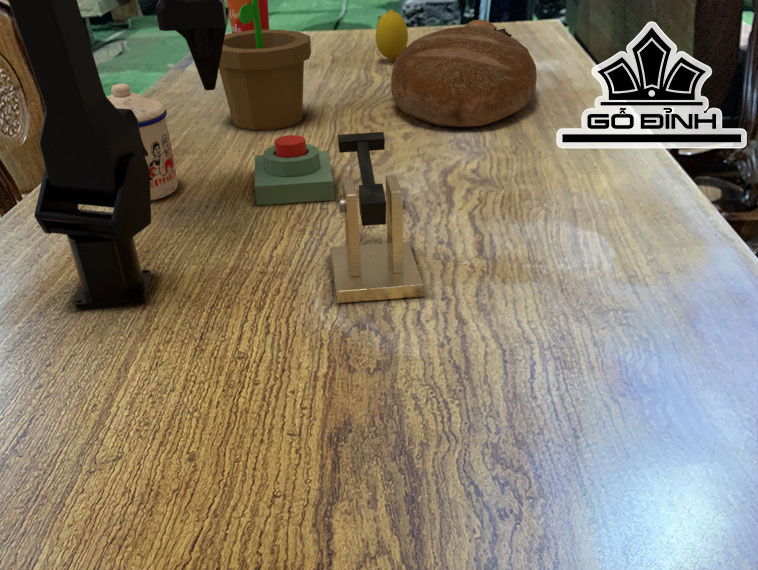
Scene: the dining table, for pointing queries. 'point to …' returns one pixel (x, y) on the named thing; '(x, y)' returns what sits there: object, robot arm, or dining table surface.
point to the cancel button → (290, 146)
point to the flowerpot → (264, 74)
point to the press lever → (367, 175)
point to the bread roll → (486, 26)
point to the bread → (463, 77)
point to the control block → (293, 177)
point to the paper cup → (235, 3)
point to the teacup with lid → (150, 138)
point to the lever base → (374, 253)
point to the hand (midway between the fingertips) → (210, 89)
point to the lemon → (391, 35)
